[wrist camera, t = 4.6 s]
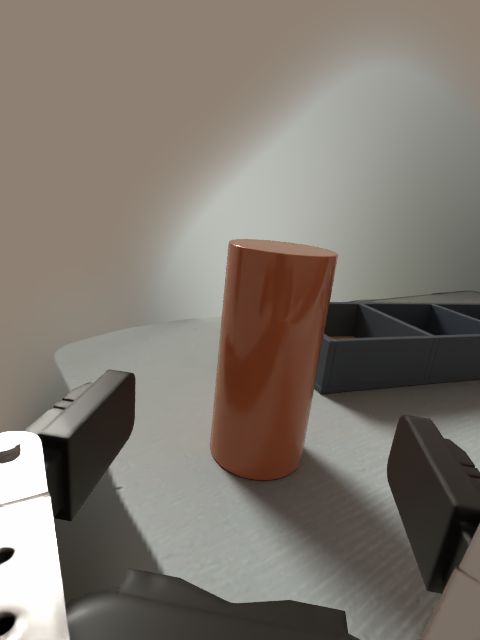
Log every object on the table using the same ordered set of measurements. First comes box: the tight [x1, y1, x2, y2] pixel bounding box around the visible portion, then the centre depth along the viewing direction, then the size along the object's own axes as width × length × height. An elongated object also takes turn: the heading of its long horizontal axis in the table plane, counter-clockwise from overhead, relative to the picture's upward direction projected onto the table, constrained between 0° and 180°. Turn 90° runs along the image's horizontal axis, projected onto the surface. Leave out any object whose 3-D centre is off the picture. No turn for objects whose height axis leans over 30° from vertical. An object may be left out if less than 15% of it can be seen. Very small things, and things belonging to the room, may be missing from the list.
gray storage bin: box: [314, 302, 480, 394], centre depth 40 cm, size 32×11×4 cm, turn 110°
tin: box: [210, 239, 338, 480], centre depth 21 cm, size 6×6×12 cm
